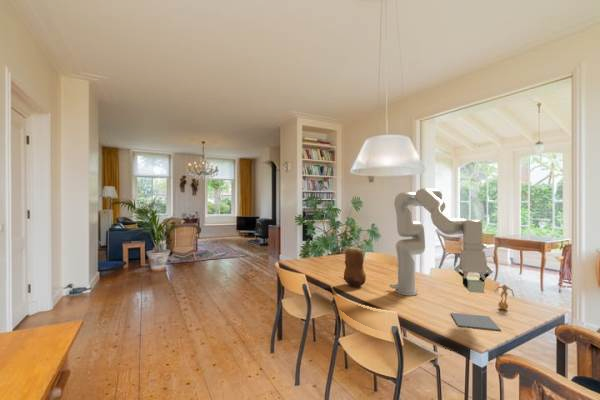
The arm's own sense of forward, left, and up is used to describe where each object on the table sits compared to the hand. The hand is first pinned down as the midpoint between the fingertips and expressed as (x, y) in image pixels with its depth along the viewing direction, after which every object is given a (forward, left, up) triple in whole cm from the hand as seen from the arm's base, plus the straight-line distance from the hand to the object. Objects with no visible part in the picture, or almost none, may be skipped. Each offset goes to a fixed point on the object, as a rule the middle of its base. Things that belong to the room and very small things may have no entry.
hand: (473, 286), depth 127 cm
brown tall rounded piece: (-57, +40, -16) cm, 71 cm away
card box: (0, 0, -1) cm, 1 cm away
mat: (0, 0, -16) cm, 16 cm away
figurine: (+19, +21, -16) cm, 32 cm away
